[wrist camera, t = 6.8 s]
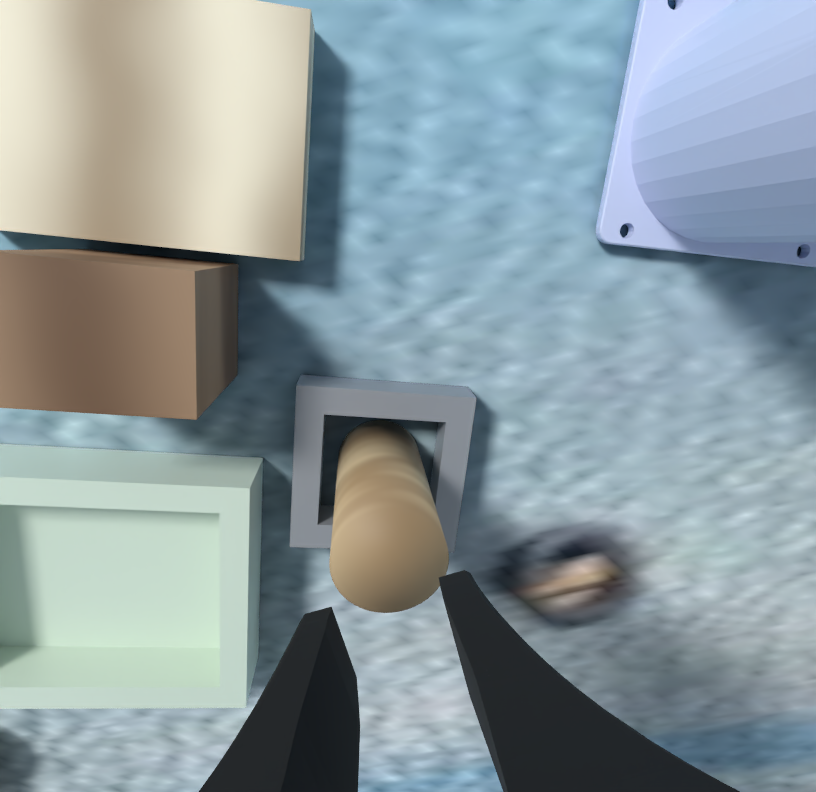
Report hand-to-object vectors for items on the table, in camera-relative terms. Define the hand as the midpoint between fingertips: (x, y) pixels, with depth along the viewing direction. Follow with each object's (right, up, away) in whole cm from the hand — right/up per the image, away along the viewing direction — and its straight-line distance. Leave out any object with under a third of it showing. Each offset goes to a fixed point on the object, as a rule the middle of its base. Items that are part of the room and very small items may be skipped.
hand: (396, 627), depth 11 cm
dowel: (-1, +3, +9) cm, 9 cm away
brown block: (-8, +8, +7) cm, 13 cm away
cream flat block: (-8, +14, +5) cm, 17 cm away
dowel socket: (-1, +3, +9) cm, 9 cm away
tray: (-11, -1, +9) cm, 15 cm away
